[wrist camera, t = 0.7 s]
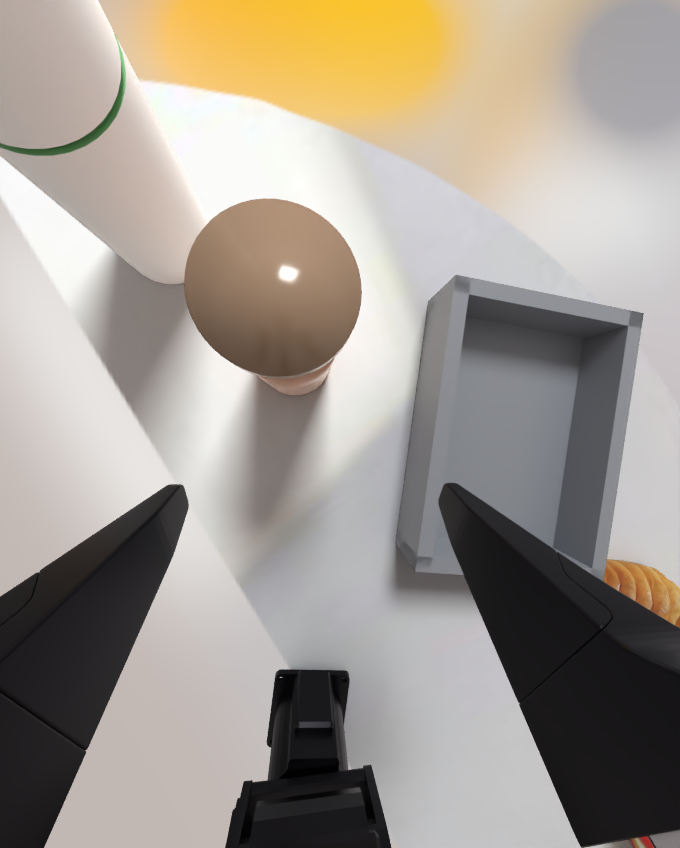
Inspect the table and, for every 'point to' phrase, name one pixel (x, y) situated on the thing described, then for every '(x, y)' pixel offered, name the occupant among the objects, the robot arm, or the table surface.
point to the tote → (519, 418)
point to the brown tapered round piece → (274, 291)
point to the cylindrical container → (93, 134)
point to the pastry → (645, 588)
